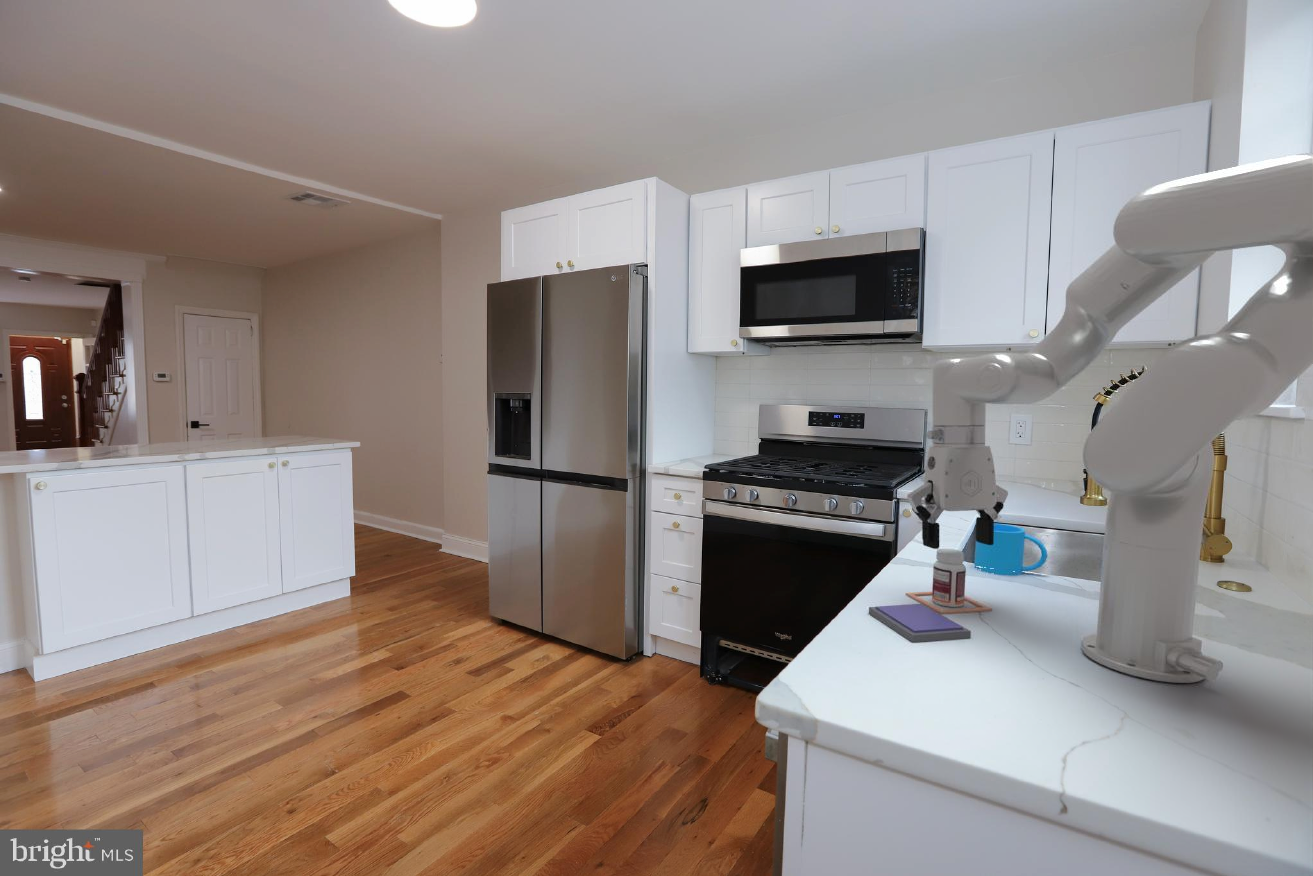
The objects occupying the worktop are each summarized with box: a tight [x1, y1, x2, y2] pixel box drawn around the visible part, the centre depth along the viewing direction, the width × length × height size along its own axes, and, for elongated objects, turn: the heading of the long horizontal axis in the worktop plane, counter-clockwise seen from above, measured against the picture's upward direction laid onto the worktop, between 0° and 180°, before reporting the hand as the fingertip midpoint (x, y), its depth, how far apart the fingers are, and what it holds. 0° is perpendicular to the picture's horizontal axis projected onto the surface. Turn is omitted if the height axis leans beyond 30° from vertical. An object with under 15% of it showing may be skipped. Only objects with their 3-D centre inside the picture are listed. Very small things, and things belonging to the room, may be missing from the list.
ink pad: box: [868, 603, 972, 643], centre depth 91 cm, size 11×9×1 cm
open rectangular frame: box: [905, 591, 993, 615], centre depth 102 cm, size 9×9×1 cm
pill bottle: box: [931, 548, 967, 608], centre depth 101 cm, size 5×5×8 cm
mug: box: [973, 522, 1048, 577], centre depth 120 cm, size 12×8×8 cm
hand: (958, 545), depth 100 cm, fingers open, 9 cm apart
